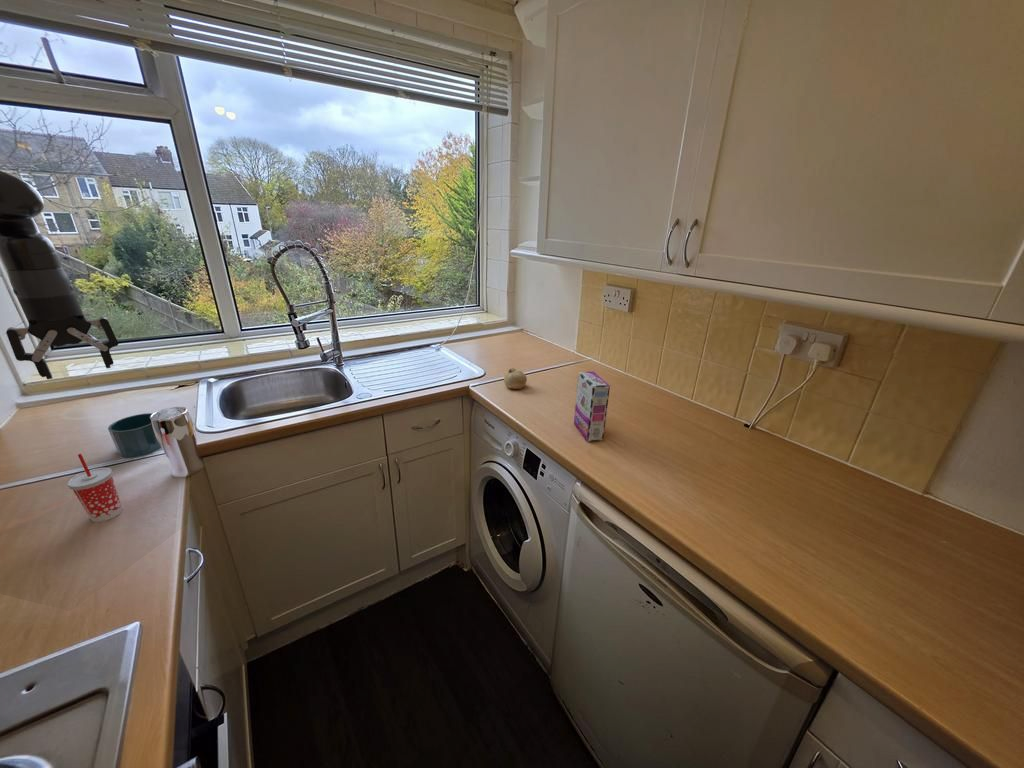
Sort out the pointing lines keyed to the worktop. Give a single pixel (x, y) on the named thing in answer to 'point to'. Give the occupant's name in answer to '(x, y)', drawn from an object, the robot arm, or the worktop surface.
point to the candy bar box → (591, 406)
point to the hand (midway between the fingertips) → (80, 372)
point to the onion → (515, 379)
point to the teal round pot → (134, 436)
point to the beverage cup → (96, 492)
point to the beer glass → (177, 440)
